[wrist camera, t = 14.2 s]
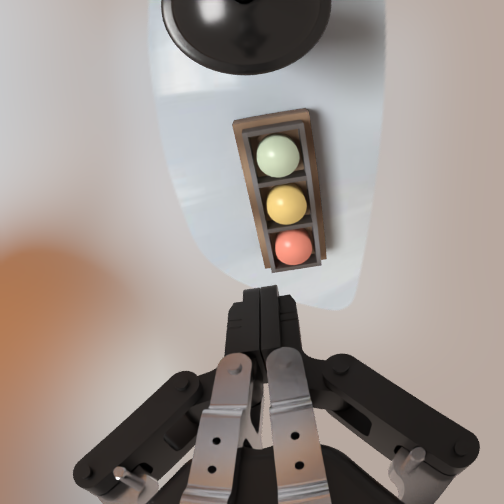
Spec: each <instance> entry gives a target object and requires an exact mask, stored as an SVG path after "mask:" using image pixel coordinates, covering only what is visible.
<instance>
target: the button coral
mask: <svg viewBox="0 0 504 504" xmlns="http://www.w3.org/2000/svg"><path fill="white" fill-rule="evenodd" d="M275 249H276V255H277V257H278V259H279V260H280V261H281V262H283V263H285V264H288V265H297V264H301V263H303V262H305V261H306V260H307V259H308V258H309V257H310V255H311V253H312V245H311V241H310V237H309V234H308V232H307V231H306V230H305V229H303V228H299V229H293V230H287V231H281V232H278V233H277V235H276V237H275Z"/></svg>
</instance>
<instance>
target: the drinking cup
mask: <svg viewBox="0 0 504 504" xmlns="http://www.w3.org/2000/svg"><path fill="white" fill-rule="evenodd" d="M161 10H162V17H163V22H164V25H165V28H166V30H167V32H168V34H169V36H170V38H171V39H172V41H173V42H174V43H175V45H176V46H177V47H178V48H179V49H180V50H181V51H182V52H183V53H184V54H185V55H186V56H188V57H189V58H190V59H192V60H193V61H195V62H197V63H198V64H200V65H202V66H204V67H206V68H209V69H212V70H214V71H218V72H221V73H226V74H233V75H257V74H264V73H268V72H272V71H275V70H279V69H281V68H284V67H286V66H288V65H290V64H292V63H294V62H296V61H297V60H299V59H300V58H302V57H303V56H304V55H305V54H307V53H308V52H309V51H310V50H311V49H312V48H313V47H314V46H315V45H316V43H317V42H318V41H319V39H320V38H321V36H322V35H323V33H324V31H325V29H326V27H327V24H328V21H329V17H330V12H331V0H161Z"/></svg>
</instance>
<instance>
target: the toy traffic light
mask: <svg viewBox="0 0 504 504" xmlns="http://www.w3.org/2000/svg"><path fill="white" fill-rule="evenodd" d="M232 126H233V130H234V134H235V139H236V143H237V147H238V152H239V156H240V160H241V165H242V169H243V173H244V177H245V182H246V186H247V191H248V195H249V199H250V204H251V208H252V212H253V217H254V221H255V226H256V230H257V234H258V239H259V243H260V248H261V252H262V256H263V261H264V265H265V269H266V268H271V270H272V273H275V272H282V271H288V270H294V269H301V268H307V267H313V266H320V265H321V260H323V259H327V258H326V246H325V235H324V225H323V215H322V206H321V197H320V188H319V180H318V172H317V164H316V157H315V149H314V142H313V135H312V129H311V122H310V116H309V112H308V110H307V109H306V108H303V109H296V110H290V111H283V112H277V113H271V114H265V115H260V116H254V117H249V118H244V119H239V120H234V122H233V124H232ZM272 133H282V134H285V135H287V136H289V137H290V138H291V139H292V140H293V141H294V142H295V144H296V147H297V149H298V152H299V163H298V166H297V167H296V169H295V170H294V171H293V172H292V173H291V174H289V175H287V176H285V177H271V176H269V175H267V174H265V173H264V172H263V171H262V170H261V169H260V167H259V165H258V163H257V147H258V144H259V143H260V141H261V140H262V139H263V138H264V137H265V136H267V135H269V134H272ZM287 183H294V184H296V185H298V186H299V187H300V188H301V190H302V191H303V193H304V197H305V200H306V204H307V209H306V212H305V214H304V216H303V217H302V218H301V219H300V220H299V221H297V222H295V223H293V224H280V223H277V222H275V221H274V220H273V219H272V218H271V217H270V216H269V214H268V211H267V194H268V192H269V190H270V189H271V188H272V187H273V186H275V185H281V184H287ZM299 228H303V229H305V230H306V231H307V232H308V234H309V237H310V241H311V245H312V253H311V255H310V257H309V258H308V259H307V260H306V261H305V262H303V263H301V264H297V265H288V264H285V263H283V262H281V261H280V260H279V259H278V257H277V255H276V249H275V237H276V235H277V233H278V232H281V231H287V230H293V229H299Z"/></svg>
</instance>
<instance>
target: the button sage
mask: <svg viewBox="0 0 504 504" xmlns="http://www.w3.org/2000/svg"><path fill="white" fill-rule="evenodd" d="M257 163H258V165H259V167H260V169H261V170H262V171H263V172H264V173H265V174H267V175H269V176H271V177H285V176H287V175H289V174H291V173H292V172H293V171H294V170H295V169H296V167H297V166H298V163H299V152H298V149H297V147H296V144H295V142H294V141H293V140H292V139H291V138H290V137H289V136H287V135H285V134H282V133H272V134H269V135H267V136H265V137H264V138H263V139H262V140H261V141H260V143H259V144H258V147H257Z"/></svg>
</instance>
